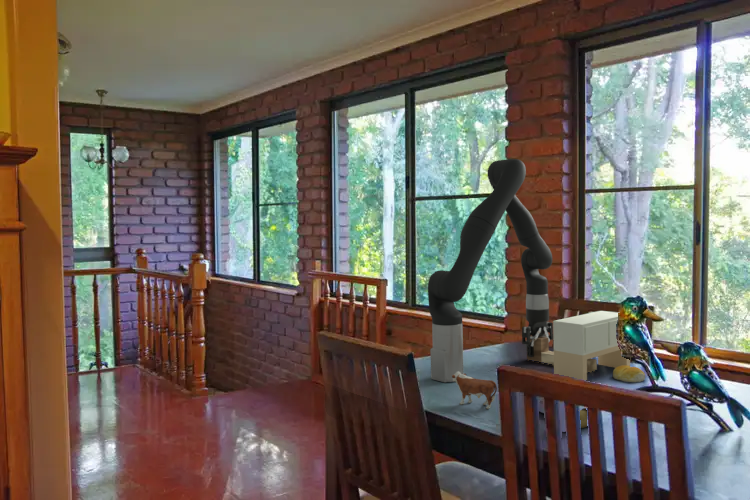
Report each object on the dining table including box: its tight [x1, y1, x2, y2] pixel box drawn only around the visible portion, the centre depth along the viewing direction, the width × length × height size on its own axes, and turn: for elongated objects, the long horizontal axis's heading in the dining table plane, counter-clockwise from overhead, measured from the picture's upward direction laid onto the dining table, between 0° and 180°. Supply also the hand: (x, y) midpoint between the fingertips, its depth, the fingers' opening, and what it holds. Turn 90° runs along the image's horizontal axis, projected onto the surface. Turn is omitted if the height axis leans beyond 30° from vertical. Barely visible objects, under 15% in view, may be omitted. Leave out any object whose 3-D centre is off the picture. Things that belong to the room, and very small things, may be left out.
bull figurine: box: [452, 371, 498, 410], centre depth 164 cm, size 4×13×8 cm, turn 51°
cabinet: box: [552, 310, 631, 381], centre depth 192 cm, size 26×10×18 cm, turn 129°
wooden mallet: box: [526, 335, 598, 373], centre depth 204 cm, size 4×24×8 cm, turn 38°
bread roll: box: [612, 365, 646, 383], centre depth 186 cm, size 8×9×4 cm
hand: (538, 354), depth 211 cm, fingers open, 7 cm apart
